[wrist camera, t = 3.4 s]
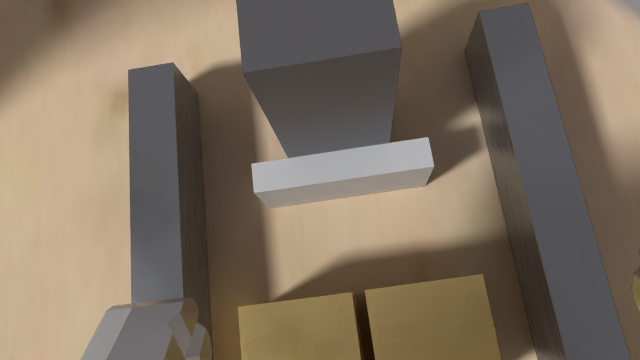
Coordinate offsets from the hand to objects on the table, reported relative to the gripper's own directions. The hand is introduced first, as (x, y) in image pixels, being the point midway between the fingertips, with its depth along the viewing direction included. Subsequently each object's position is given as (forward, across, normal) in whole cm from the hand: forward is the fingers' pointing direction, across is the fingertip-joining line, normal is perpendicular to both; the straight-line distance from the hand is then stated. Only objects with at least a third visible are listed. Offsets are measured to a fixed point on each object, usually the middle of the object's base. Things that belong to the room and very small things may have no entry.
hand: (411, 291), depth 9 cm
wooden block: (+7, +1, -9) cm, 12 cm away
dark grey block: (+14, -1, -2) cm, 14 cm away
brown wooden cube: (+7, -4, -9) cm, 12 cm away
